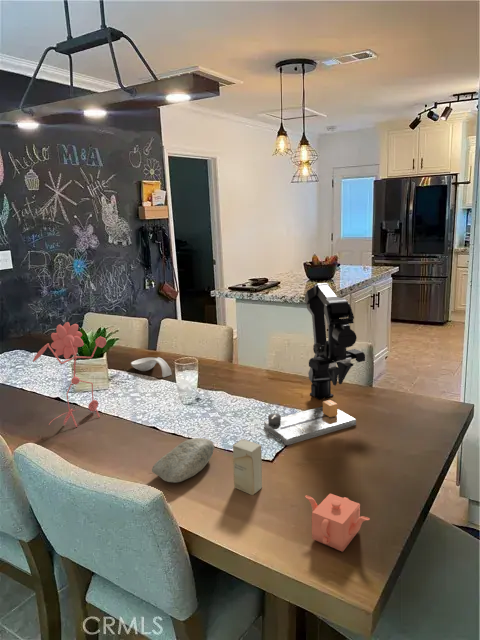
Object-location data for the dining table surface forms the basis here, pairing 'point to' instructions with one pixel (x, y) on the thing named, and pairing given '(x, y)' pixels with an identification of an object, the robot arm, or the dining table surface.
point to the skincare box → (247, 466)
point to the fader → (330, 408)
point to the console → (308, 425)
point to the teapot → (335, 521)
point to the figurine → (67, 345)
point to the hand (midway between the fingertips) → (337, 384)
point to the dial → (274, 419)
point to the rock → (184, 460)
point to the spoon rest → (152, 365)
